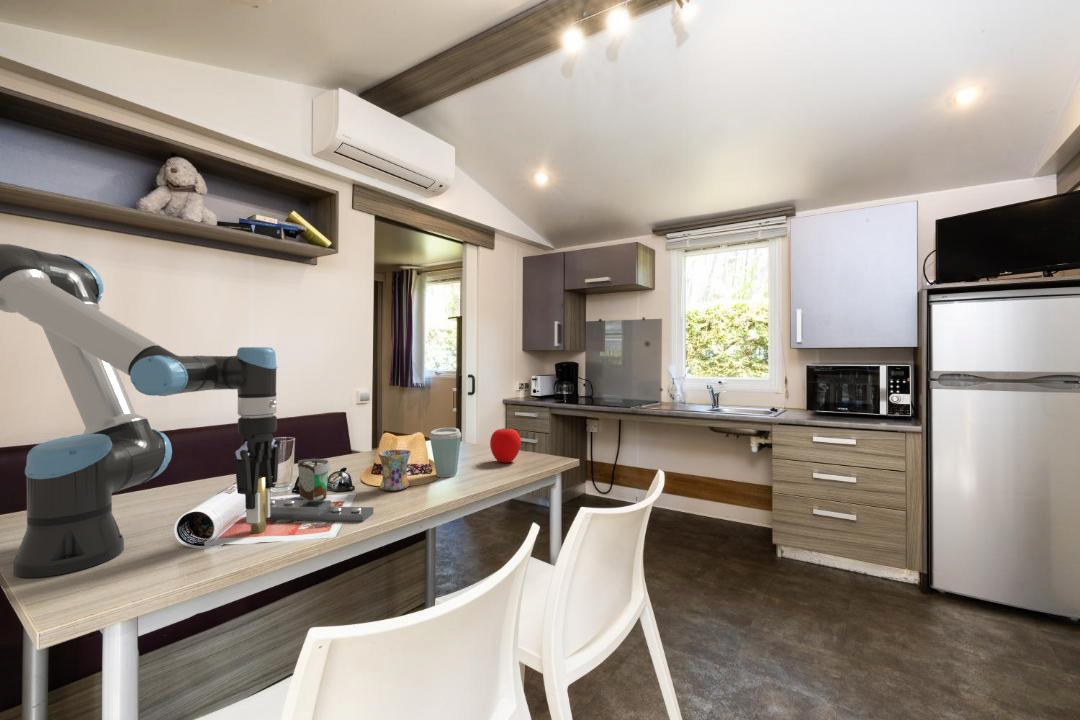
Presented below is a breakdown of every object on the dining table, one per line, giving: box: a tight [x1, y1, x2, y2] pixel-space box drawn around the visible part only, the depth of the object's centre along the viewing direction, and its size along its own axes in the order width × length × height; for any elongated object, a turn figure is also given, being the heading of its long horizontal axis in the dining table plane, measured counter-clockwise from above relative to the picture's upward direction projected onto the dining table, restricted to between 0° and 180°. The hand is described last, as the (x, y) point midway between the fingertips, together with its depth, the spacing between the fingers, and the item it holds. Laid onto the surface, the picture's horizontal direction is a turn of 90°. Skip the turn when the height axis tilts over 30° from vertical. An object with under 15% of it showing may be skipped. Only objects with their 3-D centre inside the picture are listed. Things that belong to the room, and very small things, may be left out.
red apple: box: [489, 426, 522, 464], centre depth 174 cm, size 11×11×13 cm
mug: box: [377, 449, 412, 491], centre depth 141 cm, size 12×9×11 cm
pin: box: [249, 476, 267, 534], centre depth 107 cm, size 3×3×12 cm
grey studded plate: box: [266, 498, 374, 523], centre depth 116 cm, size 28×6×4 cm, turn 86°
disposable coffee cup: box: [428, 427, 462, 478], centre depth 156 cm, size 11×11×15 cm
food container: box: [297, 458, 332, 500], centre depth 132 cm, size 12×6×10 cm, turn 47°
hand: (258, 519), depth 107 cm, fingers closed on pin, 3 cm apart
